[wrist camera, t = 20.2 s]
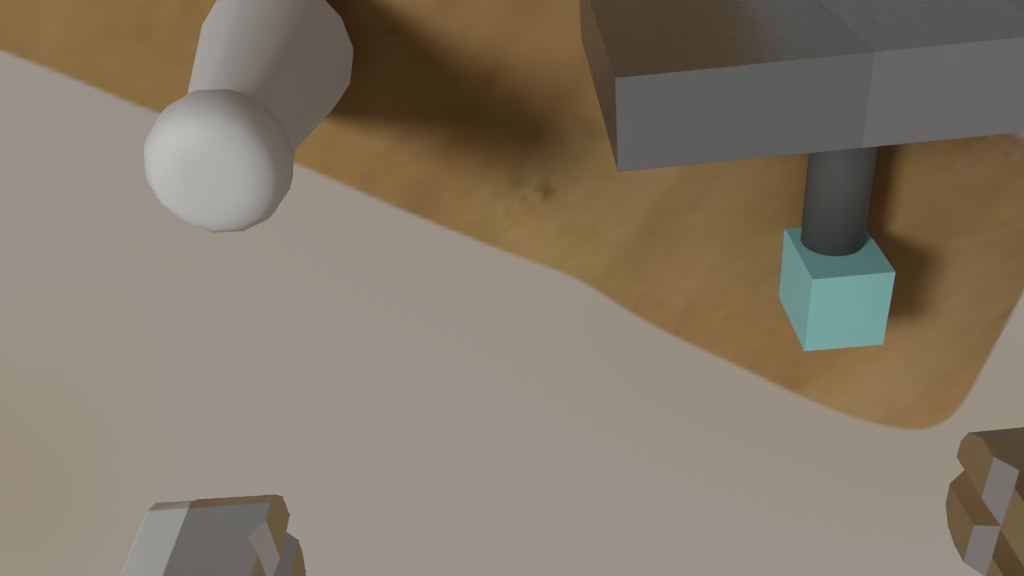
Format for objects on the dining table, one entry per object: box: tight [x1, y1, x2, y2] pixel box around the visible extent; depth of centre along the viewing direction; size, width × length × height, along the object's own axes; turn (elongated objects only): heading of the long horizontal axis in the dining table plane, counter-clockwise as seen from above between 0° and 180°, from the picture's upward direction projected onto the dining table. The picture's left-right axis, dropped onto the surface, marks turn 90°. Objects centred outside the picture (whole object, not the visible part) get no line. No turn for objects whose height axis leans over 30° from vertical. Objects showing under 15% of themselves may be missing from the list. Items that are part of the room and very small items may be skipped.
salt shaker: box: [144, 0, 354, 232], centre depth 32 cm, size 6×6×13 cm
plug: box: [779, 146, 896, 351], centre depth 40 cm, size 13×4×4 cm, turn 5°
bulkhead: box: [580, 0, 1024, 172], centre depth 31 cm, size 3×20×12 cm, turn 96°
